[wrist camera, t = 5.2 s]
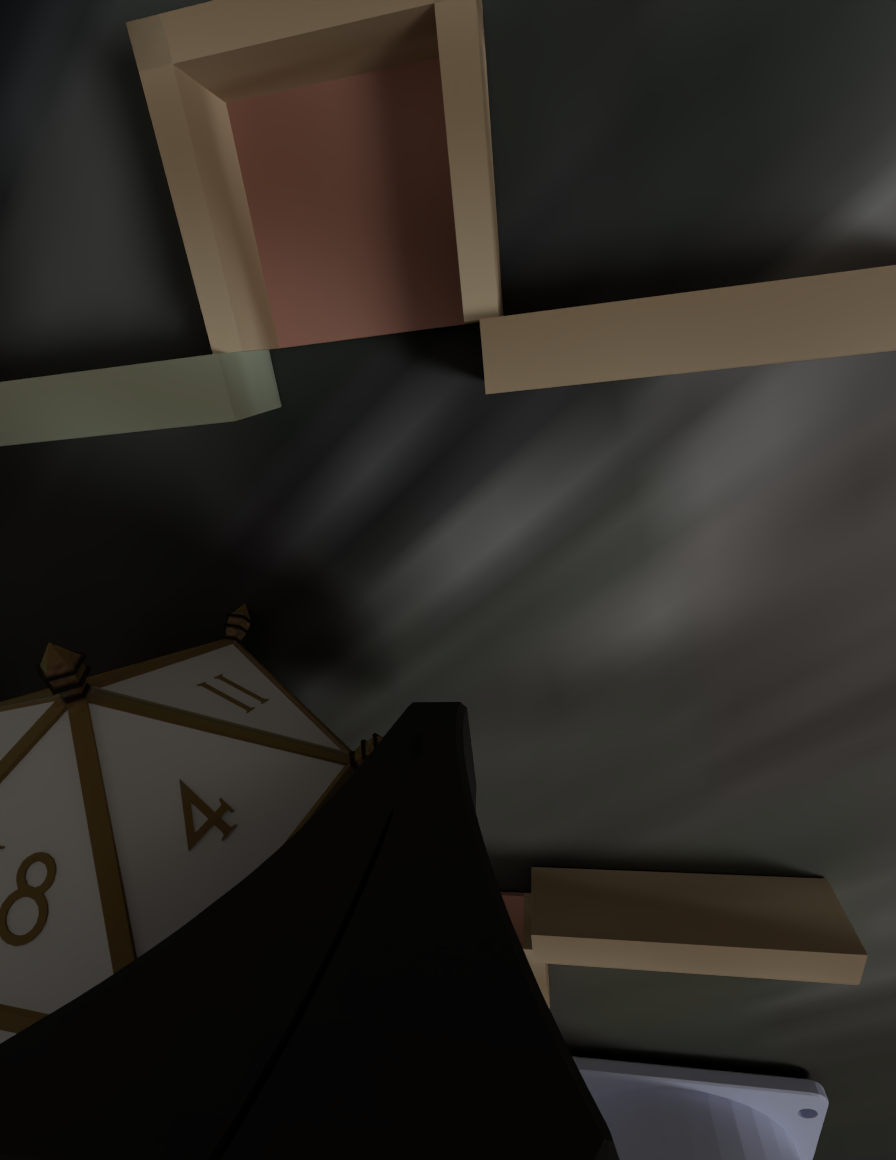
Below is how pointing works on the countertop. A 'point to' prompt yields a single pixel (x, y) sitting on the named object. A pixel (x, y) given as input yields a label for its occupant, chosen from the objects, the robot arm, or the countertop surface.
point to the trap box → (424, 301)
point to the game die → (143, 806)
